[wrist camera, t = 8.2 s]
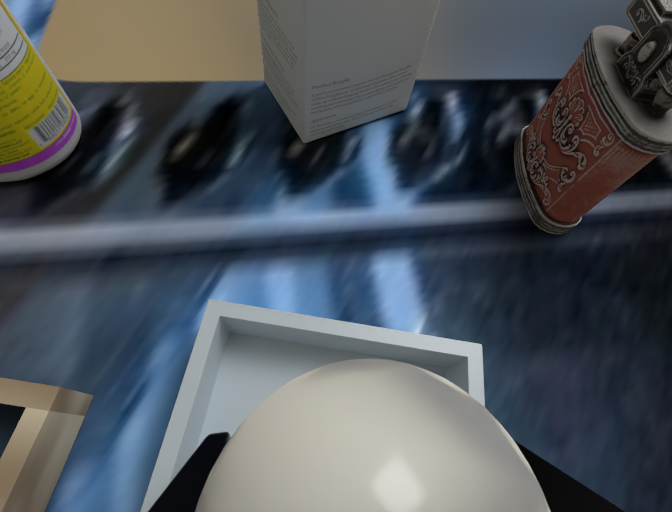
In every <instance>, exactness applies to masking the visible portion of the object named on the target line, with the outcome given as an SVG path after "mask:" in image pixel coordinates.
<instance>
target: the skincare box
mask: <svg viewBox="0 0 672 512" xmlns="http://www.w3.org/2000/svg"><path fill="white" fill-rule="evenodd" d="M440 1H441V0H257V4H258V15H259V24H260V35H261V44H262V55H263V63H264V77H265V83H266V84H267V86H268V88H269V89H270V91H271V92H272V94H273V95H274V97H275V99H276V100H277V102H278V103H279V105H280V107H281V108H282V110H283V111H284V113H285V114H286V116H287V118H288V119H289V121H290V122H291V124H292V126H293V127H294V129H295V131H296V132H297V134H298V135H299V137H300V139H301V140H302V142H303V143H308V142H311V141H313V140H316V139H319V138H322V137H325V136H328V135H331V134H334V133H337V132H340V131H343V130H346V129H349V128H352V127H355V126H357V125H360V124H363V123H366V122H369V121H372V120H375V119H378V118H381V117H384V116H387V115H390V114H393V113H396V112H399V111H402V110H405V109H406V107H407V104H408V101H409V98H410V95H411V92H412V89H413V86H414V82H415V79H416V76H417V72H418V69H419V66H420V63H421V60H422V57H423V53H424V50H425V47H426V44H427V41H428V38H429V35H430V32H431V29H432V25H433V23H434V20H435V16H436V13H437V10H438V7H439V4H440Z"/></svg>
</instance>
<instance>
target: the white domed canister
mask: <svg viewBox="0 0 672 512" xmlns="http://www.w3.org/2000/svg"><path fill="white" fill-rule="evenodd" d="M195 512H551V511H550V509H549V506H548V504H547V501H546V499H545V496H544V494H543V491H542V489H541V487H540V485H539V483H538V481H537V479H536V477H535V475H534V473H533V471H532V469H531V467H530V465H529V463H528V462H527V460H526V459H525V457H524V455H523V454H522V452H521V451H520V449H519V448H518V446H517V445H516V443H515V442H514V440H513V439H512V438H511V437H510V435H509V434H508V433H507V431H506V430H505V429H504V428H503V426H502V425H501V424H500V423H499V422H498V421H497V420H496V419H495V418H494V417H493V416H492V414H491V413H490V412H489V411H488V410H487V409H486V408H485V407H484V406H483V405H481V404H480V403H479V402H478V401H477V400H475V399H474V398H473V397H472V396H470V395H469V394H468V393H467V392H466V391H464V390H462V389H461V388H459V387H458V386H456V385H455V384H453V383H452V382H450V381H449V380H447V379H445V378H443V377H441V376H439V375H437V374H435V373H433V372H431V371H428V370H425V369H423V368H420V367H417V366H414V365H411V364H407V363H402V362H398V361H393V360H384V359H354V360H346V361H341V362H336V363H331V364H328V365H325V366H322V367H319V368H316V369H314V370H311V371H309V372H307V373H305V374H303V375H301V376H299V377H297V378H295V379H293V380H291V381H289V382H288V383H287V384H285V385H284V386H282V387H281V388H279V389H278V390H276V391H275V392H273V393H272V394H271V395H270V396H269V397H267V398H266V399H265V400H264V401H263V402H262V403H261V404H259V405H258V406H257V407H256V408H255V409H254V410H253V411H252V412H251V414H250V415H249V416H248V417H247V418H246V419H245V420H244V421H243V422H242V424H241V425H240V426H239V427H238V428H237V430H236V431H235V433H234V434H233V435H232V437H231V438H230V440H229V441H228V443H227V444H226V445H225V447H224V448H223V450H222V452H221V454H220V456H219V457H218V459H217V461H216V463H215V465H214V466H213V468H212V470H211V472H210V474H209V476H208V479H207V481H206V484H205V486H204V488H203V491H202V493H201V496H200V498H199V501H198V504H197V507H196V511H195Z"/></svg>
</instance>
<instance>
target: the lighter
mask: <svg viewBox="0 0 672 512" xmlns="http://www.w3.org/2000/svg"><path fill="white" fill-rule="evenodd" d="M625 12H626V15H627V17H628V19H629V21H630V22H631V25H632V27H633V28H634V30H635V32H630V31H628V30H626V29H623V28H621V27H616V26H611V25H603V26H599V27H596V28H595V29H594V30H593V31H592V33H591V34H590V35H589V37H588V38H587V40H586V41H585V42H584V44H583V52H582V53H581V54H580V56H579V57H578V59H577V60H576V61H575V63H574V64H573V65H572V67H571V68H570V70H569V71H568V72H567V74H566V75H565V77H564V78H563V79H562V81H561V82H560V83H559V85H558V86H557V87H556V89H555V90H554V92H553V93H552V94H551V96H550V97H549V99H548V100H547V101H546V103H545V104H544V105H543V107H542V108H541V110H540V111H539V112H538V114H537V115H536V116H535V118H534V119H533V121H532V122H531V123H530V125H529V126H526V127H525V128H523V129H522V131H521V132H520V134H519V135H518V136H517V138H516V140H515V143H514V163H515V171H516V178H517V182H518V185H519V189H520V192H521V195H522V199H523V201H524V203H525V206H526V208H527V210H528V213H529V215H530V217H531V219H532V221H533V222H534V224H535V225H536V226H538V227H539V228H540V229H542V230H544V231H546V232H548V233H552V234H564V233H566V232H568V231H570V230H571V229H572V228H573V227H575V226H576V225H577V224H578V223H579V222H580V221H581V219H582V216H583V215H584V214H585V213H587V212H588V211H589V210H590V209H592V208H593V207H594V206H595V205H597V204H598V203H599V202H600V201H602V200H603V199H604V198H605V197H607V196H608V195H609V194H610V193H611V192H613V191H614V190H615V189H616V188H618V187H619V186H620V185H621V184H623V183H624V182H625V181H626V180H628V179H629V178H630V177H631V176H633V175H634V174H635V173H636V172H638V171H639V170H640V169H641V168H642V167H644V166H645V165H646V164H647V163H649V162H650V161H651V160H652V159H654V158H655V157H656V156H657V155H659V154H664V153H667V152H670V151H671V150H672V0H633V1H632V2H631V4H630V5H629V6H628V8H627V9H626V11H625Z"/></svg>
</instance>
